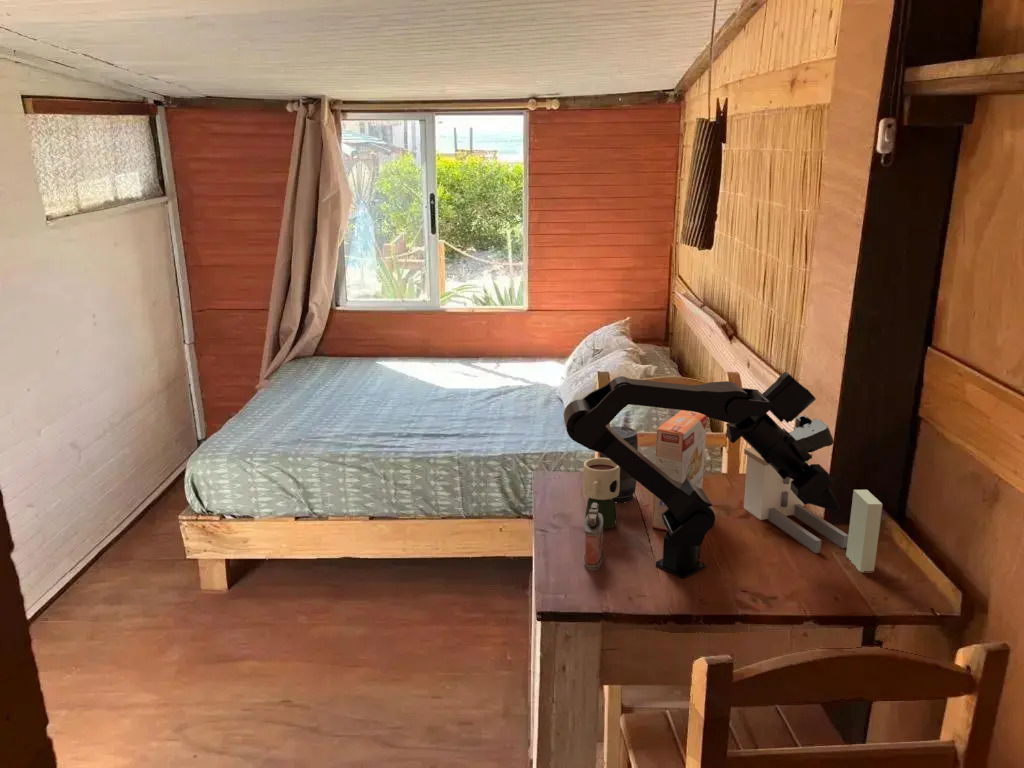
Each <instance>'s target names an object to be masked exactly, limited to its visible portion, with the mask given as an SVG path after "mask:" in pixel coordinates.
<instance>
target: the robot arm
mask: <svg viewBox="0 0 1024 768" xmlns="http://www.w3.org/2000/svg"><path fill="white" fill-rule="evenodd" d="M816 400H817V398H816V397H815V396H814V395H813V394H812V393H811V392H810V390H808V388H806V387H805V386H803V385H802V384H801V383H799V381H797V380H796V379H795V378H794V377H793V376H792V375H791V374H790V373H789V372H787V371H784V372H783V373H782V374H780V375H779V376H778V378H777V379H776V380H775V381H774V382H773V383H772V384H771V385H770V386H769V387H768V388H766V390H765V391H763V392H761V391H760V390H759V389H756V388H755V389H754V388H746V387H740V385H739V384H737V383H735V382H733V381H731V380H730V381H726V380H725V381H714V382H713V381H710V382H706V383H703V384H696V385H695V384H684V383H683V384H682V383H673V382H665V381H663V382H662V381H656V380H655V381H654V380H645V379H636V378H628V377H627V376H617V377H614V378H613V379H612V380H610V381H609V382H607V383H606V384H605V385H603V386H600V387H599V388H596V389H595V390H593V391H591V392H590V393H588V394H587V395H586V396H584V397H583V398H581V399H575V400H573V401H571V402H570V403H568V404H567V405H566V407H565V408H564V411H563V420H564V425H565V428H566V432H567V436H568V437H569V438H570V439H571V440H573V442H576V443H577V444H579V445H581V446H583V447H585V448H587V449H588V450H590V451H592V452H593V451H594V452H597V453H598V454H599V453H602V454H604V455H605V456H607V457H608V458H609V459H610V460H612V461H613V462H614V463H615V464H617V465H618V466H619V467H620V468H622V469H623V470H624V471H625V472H627V473H628V474H629V475H630V476H631V477H633V478H634V479H635V480H636V482H638V483H639V484H640V485H641V486H643V487H644V488H645V489H646V490H648V492H650V493H651V494H652V495H655V496H656V497H658V498H659V499H660V500H661V501H663V503H664V504H665V505H666V506H667V508H668V509H667V510H666V511H665V512H664V513H663V514H662V515H661V516H662V519H663V522H664V524H665V526H666V528H667V530H665V535H664V536H663V546H662V558H661V559H659V560H656V561H655V565H656V566H657V567H659V568H661V569H662V570H665V571H667V572H670V573H671V574H673V575H675V576H677V577H679V578H681V579H685V578H687V577H690V576H692V575H693V574H695V573H697V572H700V570H703V569H704V568H706V566H707V565H706V563H705V562H702V561H700V559H701V546H702V544H703V542H704V540H705V538H706V535H707V533H708V532H709V531H710V530H711V529H712V528H713V526H715V523H716V514H715V511H714V510H713V508H712V506H713V504H712V502H711V500H710V499H709V497H708V496H707V494H706V492H705V491H704V489H703V488H702V489H701V488H698V487H696V486H695V485H694V484H693V483H692V482H691V481H690V480H689V479H688V478H686V479H685V480H684V482H683V483H681V482H677V481H675V480H673V479H672V478H670V477H669V476H668V475H667V474H665V473H664V472H663V471H662V470H661V469H659V468H658V467H657V466H656V465H655V463H653V462H652V461H651V460H649V459H648V458H647V457H646V456H645V455H643V454H642V453H641V452H640V451H638V450H636V449H635V448H634V447H632V446H631V445H630V444H629V443H627V442H626V441H625V440H624V439H623V438H621V437H620V436H619V435H618V434H616V433H615V432H614V430H613V429H612V428H611V427H612V426H611V425H610V424H611V422H612V421H613V420H614V418H616V416H617V415H618V414H619V413H620V412H621V411H623V409H625V408H626V407H627V406H629V405H630V406H640V407H649V408H651V407H652V408H660V409H666V410H667V409H677V410H685V411H691V412H698V413H701V414H704V415H706V416H707V418H708V417H709V418H711V419H713V420H717V421H719V422H720V421H721V422H722V423H726V431H725V436H726V438H727V439H728V440H729V442H731V443H732V444H734V443H736V442H737V441H738V440H739V439H740V438H742V439H743V440H744V441H745V442H746V443H747V444H748V445H749V446H750V448H753V449H754V450H755V451H757V452H758V453H759V454H760V456H761V457H762V458H763V459H764V460H765V461H766V462H767V463H768V464H770V465H771V466H772V467H773V468H774V469H775V470H776V471H777V473H778V474H779V475H780V476H781V477H782V478H783V479H785V478H786V477H789V478H791V479H793V481H791V488H790V489H791V490H792V492H793V493H794V494H795V495H796V496H797V497H798V498H799V499H800V500H801V501H802V502H803V503H804V505H809V504H810V505H812V506H817V507H819V508H823V509H826V510H829V511H831V512H835V513H837V512H838V511H839V510H841V506H840V504H839V502H838V501H837V499H836V497H835V495H834V494H833V492H832V491H831V489H830V486H831V485H832V484H834V481H835V478H833V476H832V475H831V474H829V472H828V471H827V470H826V469H824V467H823V466H821V465H820V464H819V463H815V464H814V463H812V464H811V463H810V464H809V463H808V464H807V463H806V462H805V461H808V462H809V460H811V459H810V458H812V459H813V455H812V456H811V455H810V454H809V453H813V452H816V451H818V450H820V449H823V448H825V447H830V446H832V445H833V444H834V443H835V441H834V438H833V435H832V433H831V431H830V429H829V425H828V424H827V423H825V422H824V421H823V420H821V419H817V418H816V417H814V418H812V419H810V417H808V416H806V414H801V413H803V411H805V410H806V409H807V408H808V407H810V405H812V404H813V402H815V401H816ZM769 412H770V413H771V414H772V415H773V416H774V417H775V418H776V419H777V420H778V421H779V422H781V423H783V422H784V421H785V422H786V423H787V424H788V423H791V422H793V421H794V420H795V426H794V427H793V430H791V431H790V432H789V431H787V430H786V428H784V427H783V428H782V427H781V426H780V425H779V424H778V423H777V422H776V421H774V419H773V418H772V417H771V416H770V415H769V414H768V413H769ZM800 414H801V415H800ZM808 452H809V453H808Z"/></svg>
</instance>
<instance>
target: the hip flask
mask: <svg viewBox="0 0 1024 768" xmlns="http://www.w3.org/2000/svg"><path fill="white" fill-rule="evenodd" d="M583 522H584V523H583V531H584V552H583V553H584V554H583V567H584V569H585V568H586V570H587V569H589V570H588V571H597V570H599V569H600V568H601V566H600V565H602V563H603V557H604V556H603V552H604V551H603V548H602V545H603V540H604V529H603V516H602V514H600V513H598V504H597V503H593V504H592V505H591V509H589V514H588V515H587V516H586V518H585V517H584V521H583ZM598 568H599V569H598Z"/></svg>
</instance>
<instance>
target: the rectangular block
mask: <svg viewBox="0 0 1024 768" xmlns="http://www.w3.org/2000/svg"><path fill="white" fill-rule="evenodd" d="M851 502H852V503H851V509H850V519H849V527H848V534H847V535H848V542H847V548H846V550H845V551H846V553H845V556H846V558H847V559H848V558H849V559H848V560H849V561H850V560H851V561H850V562H851V563H852V565H853V564H854V565H855V566H856V567H855V566H854V565H853V566H854V567H855V568H856V569H857V570H858V572H859V571H860V572H859V573H865V572H864V571H874V572H875V568H876V567H875V565H876V559H877V551H878V543H879V542H878V541H879V536H880V528H881V520H882V512H883V511H882V510H883V503H882V502H881V501H880V500H879V499H878V498H877V497H875V495H874V494H872V493H871V492H870V491H869V490H868V489H853V492H852V499H851Z"/></svg>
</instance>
